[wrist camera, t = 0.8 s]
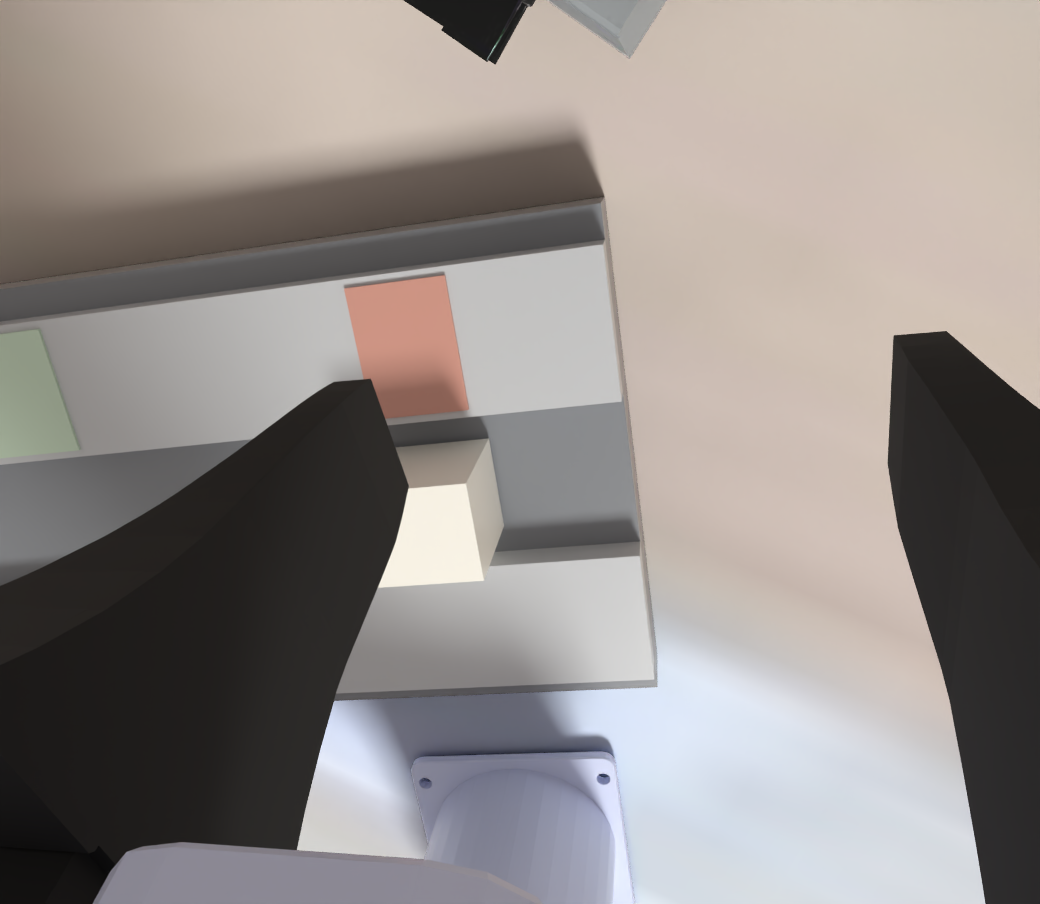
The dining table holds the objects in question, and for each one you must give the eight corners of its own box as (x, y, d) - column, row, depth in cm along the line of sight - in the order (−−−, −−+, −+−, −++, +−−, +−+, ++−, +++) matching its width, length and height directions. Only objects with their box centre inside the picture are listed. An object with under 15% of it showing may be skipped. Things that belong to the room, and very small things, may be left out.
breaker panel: (657, 653, 32) (657, 707, 29) (66, 682, 36) (16, 731, 34) (604, 196, 27) (598, 207, 24) (-81, 296, 31) (-156, 314, 28)
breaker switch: (504, 525, 29) (484, 580, 25) (400, 534, 29) (367, 588, 26) (488, 438, 28) (465, 483, 24) (381, 448, 28) (344, 494, 25)
